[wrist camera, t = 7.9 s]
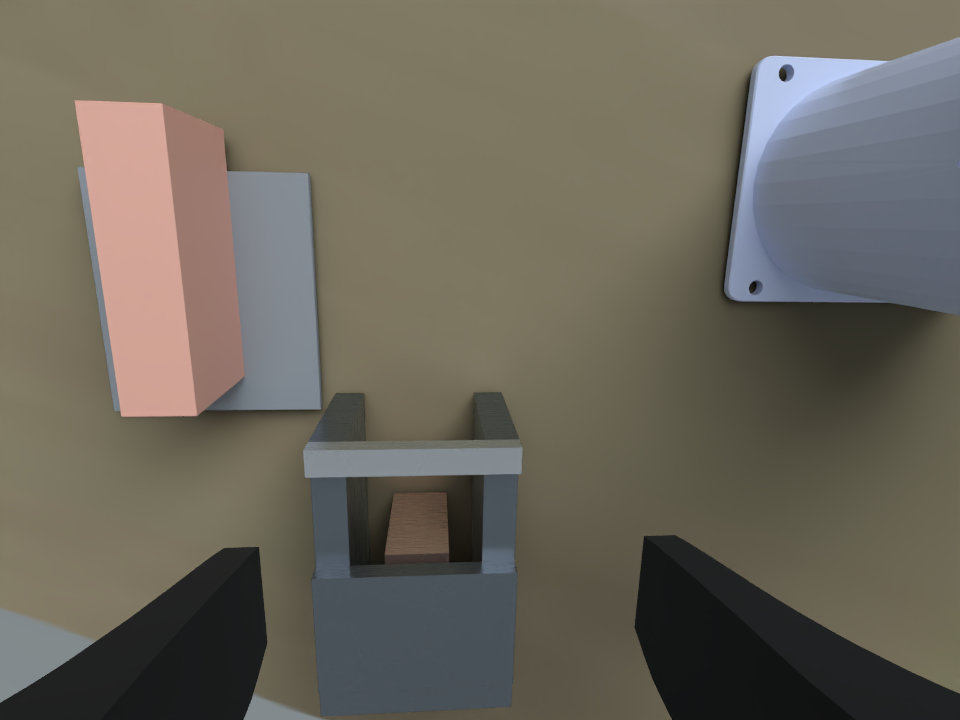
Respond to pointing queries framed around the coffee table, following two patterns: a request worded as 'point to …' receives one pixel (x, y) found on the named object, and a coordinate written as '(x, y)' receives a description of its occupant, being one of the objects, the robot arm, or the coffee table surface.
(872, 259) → the robot arm
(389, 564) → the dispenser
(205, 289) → the salmon pink brick
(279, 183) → the pad
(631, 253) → the coffee table surface
